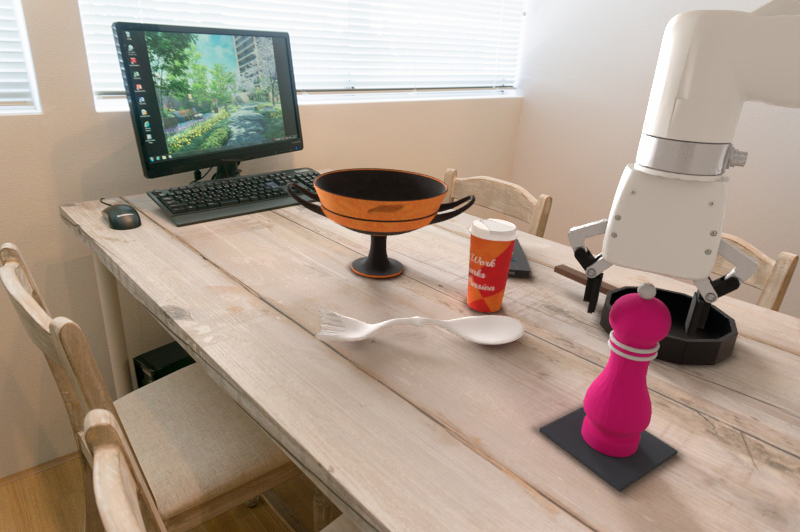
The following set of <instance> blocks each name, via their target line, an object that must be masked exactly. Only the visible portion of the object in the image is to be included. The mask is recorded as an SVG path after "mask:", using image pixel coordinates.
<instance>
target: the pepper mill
mask: <svg viewBox="0 0 800 532" xmlns="http://www.w3.org/2000/svg"><path fill="white" fill-rule="evenodd" d="M638 286H639V287H638V290H637V292H638V293H631V294H627V295H624V296H622V297H620V298H619V299H618V300H616V302H615V303H614V304H613V306H612V308H611V310H610V314H609V322H610V325H611V327H612V328H613V330H612V331H611V332H610V335H609V339H608V340H607V346H608V348H609V349H610V354H609V358H608V361H607V362H606V365H605V366H604V368H603V370H602V371H601V372H600V374H599V375H597V377H596V378H595V379H593V381H592V382H591V384H590V385H589V387H588V389H586V392H585V394H584V398H583V402H582V407H584V411H585V413H586V416H585V418H584V421H583V425H582V429H581V433H582V436H583V439H584V440H585V441H586V443H587V444H588V445H589V446H591V447H592V448H593V449H595V450H597V451H598V452H600V453H603V454H605V455H608V456H612V457H628V456H630V455H633V454H634V453H635V452H636V451H637V448H638V445H639V441H640V437H641V436H640V433H641V432H643V431H644V430H645V431H646V430H647V429H648V427H649V426H650V424H651V420H652V414H653V408H652V400H651V397H650V392H649V389H648V385H647V375H648V371H649V366H650V364H651V361H653V360H655V359H657V358H656V357H657V354H658V353H657V350H658V349H659V347H660V345H659V341H661V340H662V339H664V338H665V337H666V336H667V335H668V333H669V330H670V328H671V315H670V312H669V310H668V308H667V307H666V305H665V304H664V303H663V302H662V301H660V300H659V299H657V298H655V297H654V296H655V295H656V288H657V287H656V286H655V285H654V284H653V283H651V282H643V283H641V284H639V285H638ZM655 287H656V288H655Z"/></svg>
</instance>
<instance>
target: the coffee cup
mask: <svg viewBox="0 0 800 532" xmlns="http://www.w3.org/2000/svg"><path fill="white" fill-rule="evenodd" d="M517 229H518V228H517V226H516V225H515V223H512V222H510V221H507V220H504V219H500V218H499V219H498V218H491V217H490V218H481V219H475V220H474V221H472V224H471V226H470V227H469V229H468V232H469V233H470V239H469V257H468V258H469V259H468V275H467V276H468V277H467V294H466V295H467V297H466V299H467V301H466V303H467V306H468V307H469V308H470V309H472V310H474V311H476V312H480V313H486V314H487V313H489V314H490V313H495V312H498V311H500V309H501V308H502V304H503V300H504V297H505V296H504V295H505V290H506V287H507V281H508V277H509V276H508V273H509V268H510V263H511V258H512V254H513V249H514V244H515V239H518V237H519V233H518V231H517Z"/></svg>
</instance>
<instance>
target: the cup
mask: <svg viewBox="0 0 800 532" xmlns="http://www.w3.org/2000/svg"><path fill="white" fill-rule="evenodd" d="M312 181H313V186H314V187H313V188H314V189H315V192H313V191H310V190H308V189H306V188H305V187H303V186H301V185H300V184H298V183H296V182H292V181H289V182H288V183H287V184H286V191H287V193H288V194H289V196H290V197H292V199H293V200H295V201H296V202H297V203H298V204H300V205H301V206H302V207H304V208H305V209H307V210H309V211H311V212H313V213H315V214H317V215H320V216H322V217H324V218H326V219H328V220H330V221H332V222H333V223H336V224H337V225H339V226H341V227H343V228H344V229H347V230H349V231H352V232H354V233H358V234H362V235H367V236H370V246H369V251H368V255H367V256H363V257H360V258H356V259H355V260H353V261H352V262H351V269H352V271H353V272H354V273H356V274H358V275H360V276H363V277H366V278H375V279H377V278H378V279H386V278H392V277H395V276H398V275H401V273H402V272H403V270H404V265H403V264H402V262H400V261H399V260H397V259H394V258H391V257H388V251H387V250H388V249H387V241H388V240H387V239H388V237H390V236H391V237H392V236H400V235H405V234H408V233H412V232H414V231H417V230H419V229H422V228H425V227H427V226H430V225H435V224H438V223H442V222H446V221H448V220H452V219H453V218H455V217H458V216H460V215H461V214H463V213H465V212H466V211H467V210H469V209H470V208H471V207H472V206H473V205H474V204H475V202H476V196H475V195H474V194H470V195H467V196H465V197H462V198H460V199H457V200H455V201H451V202H444V203H443V201H444V199H445V197H446V196H447V195H448V192H449V186H448V185H447V183H446V182H445V181H443V180H441V179H439V178H436V177H434V176H431V175H429V174H425V173H420V172H415V171H409V170H403V169H395V168H394V169H393V168H379V167H357V168H356V167H355V168H343V169H336V170H330V171H326V172H323V173H321V174H318V175H316V176H315V177H314V179H313V180H312ZM291 187H293V188H294V189H296V190H298V191H299V192H301V193H302V194H303V195H304V196H306V197H308V198H310V200H311V199H312V200H313V201H315V202H317V203H319V204H320V205H318V204H316V203H313V202H310V201H308V200H306V199H304V198H302V197H301V196H300V195H298V194H297V193H296V192H294V191H293V190H292V188H291ZM466 202H467V203H466ZM465 203H466V204H465ZM463 204H465V205H463ZM460 205H463V206H461V207H459V206H460ZM457 207H459V208H457ZM455 208H457V209H455ZM452 209H454V210H452ZM449 210H452V211H449ZM445 211H447V212H445Z"/></svg>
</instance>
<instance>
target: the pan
mask: <svg viewBox="0 0 800 532" xmlns="http://www.w3.org/2000/svg"><path fill="white" fill-rule="evenodd" d="M553 272H554V273H556V274H557V275H558V274H559V275H561V276H563V277H565V278H567V279H570V280H572V281H574V282H576V283H578V284H581V285H583V286H585V287H586V283H587V278H588V276H587V275H586V273H585V272H583V271H579V270H578V269H575V268H573V267H570V266H568V265H566V264H563V263H561V264H558V265H554V268H553ZM639 286H640V285H637V286H634V285H633V286H632V285H624V286H621V287H617V286H615V285H612V284H611V283H608V282H605V281H603V280H602V284H601V288H600V293H601V294H603V295H605V298H604V302H603V306H602V311H601V316H600V320H599V326H600V327H602V329H603V330H604V331H605V332H606V333H607V335H609V336H610V332H611V331H612V330H613V328H612V327H611V325H610V322H609V314H610V310H611V308H612V306H613V304H614V303H615V302H616V300H618V299H619V298H620V297H622V296H624V295H627V294H631V293H638V292H637V290H638V287H639ZM655 288H656V295H655V296H654V297H655V298H657V299H659V300H660V301H662V302H663V303H664V304H665V305H666V307H667V308H668V310H669V312H670V315H671V328H670V330H669V333H668V335H667V336H666V337H665V338H664V339H662V340H661V341H659V345H660V347H659V349H658V350H657V353H658V354H657V357H656V358H655V359H656V360H661V361H665V362H669V363H673V364H677V365H682V366H715V365H717V364H718V363H720V362H722V361H724V360H725V359H728V358H729V357H731V356H732V353H733V349H734V347H735V344H736V342H737V338H738V335H739V331H738V328H737V323H736V320H735V319H734V318H733V317H732V316H730V315H729V314H727V313H726V312H725V311H723V310H722V309H720V308H719V307H718V306H716V305H714V303H711V307H710V310H709V313H708V316H707V319H706V323H705V326H704V328H699V327H697V329H696V332H695V336H694V338H693V337H689V336H688V335H686V327H685V323H686V319H687V316H688V313H689V309H690V306H691V302H692V299H693V296H692V295H689V294H687V293H684V292H679V291H674V290H670V289H665V288H660V287H656V286H655Z"/></svg>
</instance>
